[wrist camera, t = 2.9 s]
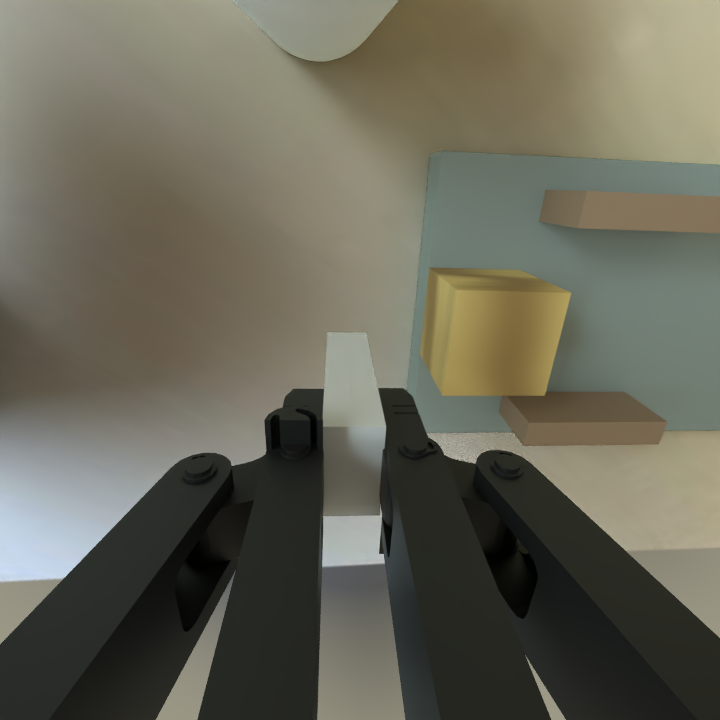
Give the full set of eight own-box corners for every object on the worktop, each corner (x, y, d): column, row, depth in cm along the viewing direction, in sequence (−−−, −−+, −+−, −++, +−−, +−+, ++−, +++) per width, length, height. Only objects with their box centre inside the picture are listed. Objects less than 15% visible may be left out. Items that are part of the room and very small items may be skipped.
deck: (404, 413, 27) (422, 468, 22) (429, 154, 21) (465, 143, 16) (759, 411, 30) (855, 462, 24) (881, 176, 23) (1049, 174, 18)
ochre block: (419, 354, 23) (442, 395, 18) (429, 267, 21) (457, 290, 16) (502, 354, 23) (544, 395, 19) (519, 269, 21) (571, 292, 17)
